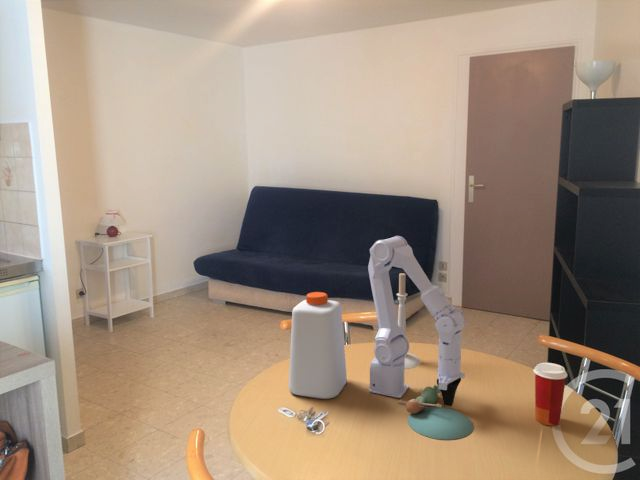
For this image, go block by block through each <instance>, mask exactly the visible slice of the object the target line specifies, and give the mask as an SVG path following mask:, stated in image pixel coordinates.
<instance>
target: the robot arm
mask: <svg viewBox="0 0 640 480" xmlns="http://www.w3.org/2000/svg"><path fill="white" fill-rule="evenodd" d="M369 254H370V257H369V262H368V266H367V269H368V275H369V276H368V277H369V281H370V287H371V292H372V297H373V302H374V303H373V304H374V308H375V309H374V310H375V314H376V315H375V316H376V320H377V321H376V322H377V325H378V331H377V333H376V335H375V338H374V341H375V342H374V343H375V344H374V345H375V346H374V352H373V353H374V356H375V357H373V358H372V360H371V363H370V368H369V389H368V392H369V393H374V394H377V395H382V396H389V397H393V398H398V399H401V398H402V397H403V395H404V394H405V393H406V392H407V391H408V389H409V387H410V386H409V385H408V384H405V370H406V369H405V354H406V353H409V350H410V343H409V340H408V339H407V336H406V337H405V335H404V330H403V329H402V328H400V327H399V326H398V317H397V311H396V305H395V301H394V296H393V295H394V293H393V290H392V285H391V280H390V278H391V277H390V273H389V272H390V270H391V269H392V267H395V268H398V269H402V270H403V271H404V272H405V274H406V275H407V276H408V278H410V280H411V281H412V283H413V284H414V285H415V286H416V287H417V289H418V290H419V291H420V300H421V301H422V303H423V304H424V306H425V308H426V309H427V310H428V312H429V313H430V314H431V316H432V317H433V319H434V320H435V321H436V322H434V326H435V329H436V331H437V333H438V354H437V355H438V356H437V357H438V359H437V365H438V366H437V371H436V373H437V377H438V378H437V379H436V386H439V387H438V389H440V391H441V393H440V394H441V398H442V402H443V406H447V407H452V406H453V405H454V401H455V398H456V393H457V390H458V387H459V385H460V384H461V381H462V379H464V378H465V377H466V373H465V372H462V371H461V370H462V369H461V366H462V364H461V363H462V360H461V359H462V335H463V334H462V333H463V331H462V329H463V328H465V325H466V316H465V315H464V312H463V311H462V310H461V309H459V308H457V307H455V306H454V305H452V304H451V302H450V300H449V299H448V297H446V294H445V293H446V292H445V290H444V289H443V288H440V286H438V285H434V284H432V283H431V281H430V279H429V278H428V276H427V274H426V273H425V272H424V270H423V268H422V267H421V265H420V263H419V262H418V260H417V259H416V257H415V255H414V252H413V248H412V247H411V246H410V244H408V241H407V240H406V239H405V238H404V237H403V236H400V235H395V236H392V237H390V238H386V239H378V240H376V241H375V242H374V243H373V245H372V246H371V247H370V248H369Z"/></svg>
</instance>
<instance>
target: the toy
mask: <svg viewBox="0 0 640 480" xmlns="http://www.w3.org/2000/svg"><path fill="white" fill-rule="evenodd" d="M438 387H439V386H438V385H437V384H434V385H433V387H432V386H427V387H426V386H425V388H423V389H422V390H421V394H420V396H417V397H416V398H412V399H409V400H408V401H405V400H404V401H403V400H401V399H400V400H399V401H398V402H397V403H398V404H399V405H400V404H405V409H406V411H407V412H408V413H410V414H411V413H412V414H416V413H418V412H420V411H421V410H423V409H424V408H426V407H442V404H440V403H437V404H435V402H436V401H437V400H438V396H439V394H441V391H440V389H438ZM442 408H443V407H442Z"/></svg>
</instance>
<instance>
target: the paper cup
mask: <svg viewBox="0 0 640 480" xmlns="http://www.w3.org/2000/svg"><path fill="white" fill-rule="evenodd" d="M532 370H533V373H534V380H535V381H534V384H535V385H534V389H535V390H534V391H535V392H534V397H535V398H534V400H535V401H534V402H535V403H534V404H535V420H536V422H538V423H539V424H541V425H543V426H544V425H545V426H550V427H551V426H552V427H553V426H557V425H559V424H560V421H561V414H562V410H563V409H562V408H563V400H564V393H565V388H566V387H565V386H566V378H567V377H568V373H567V371H566V369H565V367H564V366H562V365H560V364H557V363H552V362H540V363H538V364H536V366H534V369H532Z"/></svg>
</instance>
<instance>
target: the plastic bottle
mask: <svg viewBox="0 0 640 480" xmlns="http://www.w3.org/2000/svg"><path fill="white" fill-rule="evenodd" d="M328 296H329V295H328V294H327V293H326V292H321V291H314V292H312V291H311V292H309V293H307V294H306V297H305V298H306V299H304V300H302V301H301V302H299V303H298V304H297V305H296V306H294V307H293V308H292V311H291V314H292V315H291V332H290V334H291V335H290V349H289V350H290V353H289V372H288V390H289V391H290V393H291V394H293V395H296V396H299V397H300V396H301V397H308V398H314V399H321V400H330V399H333V398H336V397H338V395H339V394H340V392H342V390H343V388H344V386H345V385H346V384H347V381H348V378H347V377H348V375H347V367H346V366H347V363H346V353H345V352H346V350H345V339H344V337H345V335H344V326H343V325H344V324H343V312H342V311H343V310H342V304H341V303H340V302H339V301H336V300H331V299H329V297H328ZM328 299H329V300H328Z"/></svg>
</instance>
